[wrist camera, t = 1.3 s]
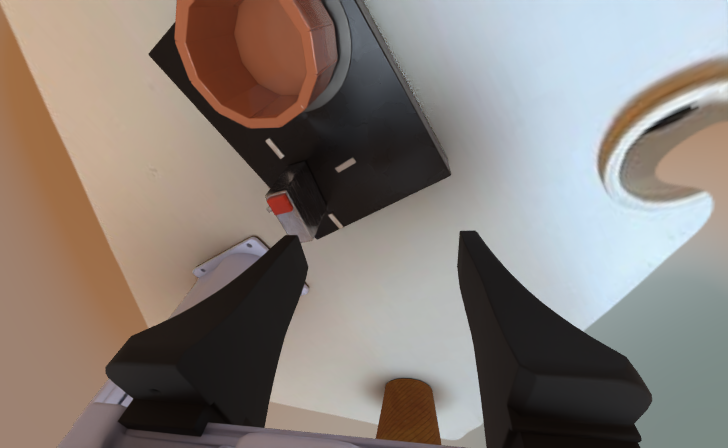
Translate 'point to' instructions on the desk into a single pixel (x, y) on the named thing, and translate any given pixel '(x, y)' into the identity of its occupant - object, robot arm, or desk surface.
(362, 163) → the stove
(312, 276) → the desk surface
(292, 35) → the small cup
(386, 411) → the disposable coffee cup
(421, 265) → the desk surface
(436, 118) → the desk surface
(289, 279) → the robot arm
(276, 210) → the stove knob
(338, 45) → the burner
